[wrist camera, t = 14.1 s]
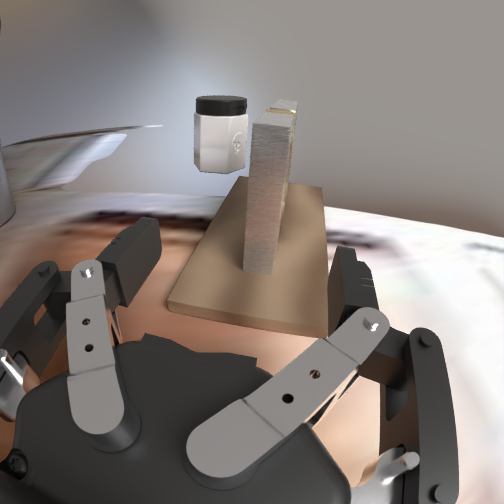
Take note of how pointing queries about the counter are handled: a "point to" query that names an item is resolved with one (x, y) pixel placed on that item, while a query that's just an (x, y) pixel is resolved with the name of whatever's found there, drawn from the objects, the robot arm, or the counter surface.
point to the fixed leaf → (292, 107)
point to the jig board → (254, 284)
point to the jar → (220, 133)
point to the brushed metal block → (267, 187)
